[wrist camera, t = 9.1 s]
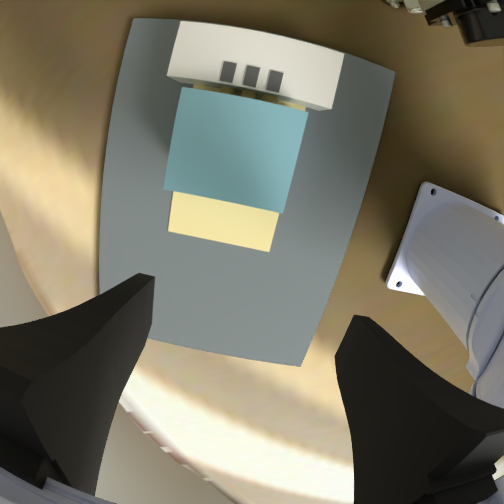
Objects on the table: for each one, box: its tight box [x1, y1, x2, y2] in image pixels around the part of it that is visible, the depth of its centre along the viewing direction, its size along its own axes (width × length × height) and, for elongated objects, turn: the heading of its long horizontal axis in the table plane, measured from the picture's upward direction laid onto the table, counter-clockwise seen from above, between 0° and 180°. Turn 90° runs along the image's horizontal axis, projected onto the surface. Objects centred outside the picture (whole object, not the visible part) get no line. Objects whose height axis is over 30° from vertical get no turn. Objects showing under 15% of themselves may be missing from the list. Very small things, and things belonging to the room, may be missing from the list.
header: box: [167, 21, 344, 111], centre depth 15 cm, size 8×6×3 cm
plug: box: [163, 87, 308, 214], centre depth 15 cm, size 5×5×5 cm
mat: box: [99, 18, 396, 367], centre depth 19 cm, size 16×22×1 cm
